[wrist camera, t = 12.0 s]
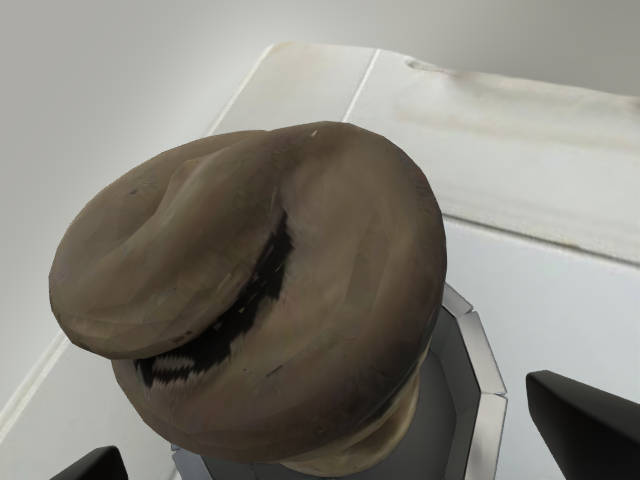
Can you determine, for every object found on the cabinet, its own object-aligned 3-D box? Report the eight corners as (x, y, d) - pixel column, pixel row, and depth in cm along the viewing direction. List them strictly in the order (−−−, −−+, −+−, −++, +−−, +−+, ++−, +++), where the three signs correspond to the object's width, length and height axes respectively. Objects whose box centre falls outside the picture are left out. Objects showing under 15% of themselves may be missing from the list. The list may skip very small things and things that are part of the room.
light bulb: (259, 452, 17) (-128, 330, 4) (306, 330, 19) (148, 29, 7) (392, 507, 15) (397, 578, 3) (424, 367, 18) (505, 56, 5)
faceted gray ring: (532, 426, 16) (583, 402, 12) (322, 643, 13) (292, 711, 9) (357, 254, 21) (348, 195, 17) (183, 388, 19) (124, 358, 15)
